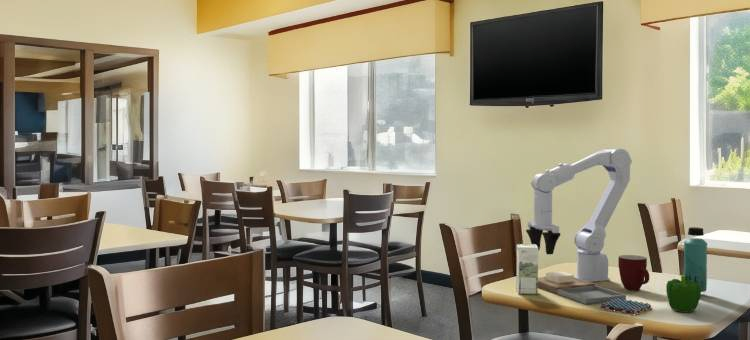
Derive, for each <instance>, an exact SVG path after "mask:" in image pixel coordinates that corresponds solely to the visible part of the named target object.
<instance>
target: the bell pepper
mask: <svg viewBox="0 0 750 340" xmlns="http://www.w3.org/2000/svg"><path fill="white" fill-rule="evenodd" d="M680 279H681V280H680ZM680 279H678V278H673V279H671V280H668V281H667V283H666V285H665V286H666V288H665V289H666V290H665V291H666V296H667V301H668V305H669V307H670V309H671V310H674V311H677V312H681V313H691V312H693V311H695V310H696V309H697V308H698V305H699V303H700V302H699V301H700V297H701V296H702V295H701V294H702V292H701V286H700V284H699V283H698V282H693V281H691V280H686V281H685V275H684V274H681V275H680Z"/></svg>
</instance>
